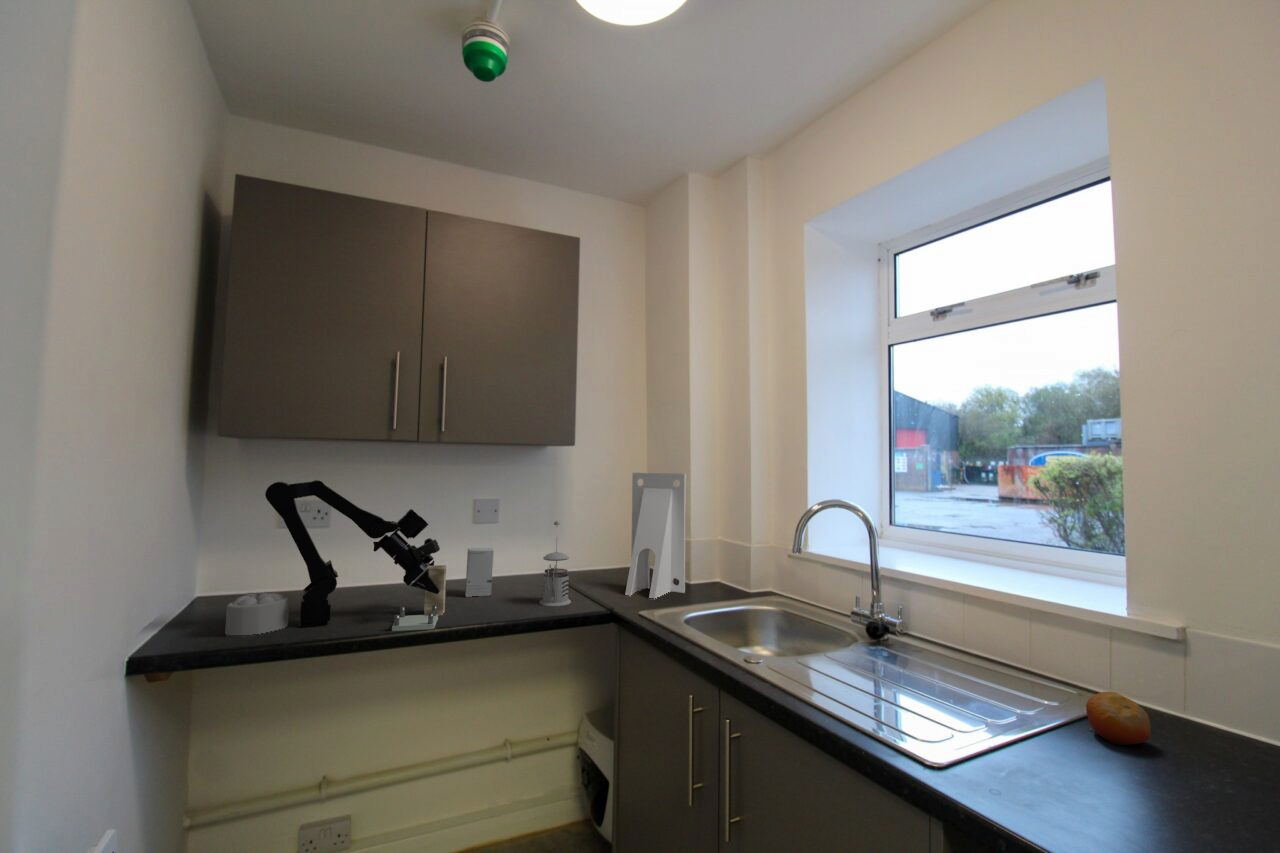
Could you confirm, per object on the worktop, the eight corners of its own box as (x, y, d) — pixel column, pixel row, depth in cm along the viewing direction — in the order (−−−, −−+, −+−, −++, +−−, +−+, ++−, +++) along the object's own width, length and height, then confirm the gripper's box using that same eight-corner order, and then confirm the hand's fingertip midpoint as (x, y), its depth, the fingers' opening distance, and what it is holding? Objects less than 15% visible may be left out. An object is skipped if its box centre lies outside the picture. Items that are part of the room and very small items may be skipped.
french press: (574, 599, 183) (575, 519, 185) (566, 608, 172) (567, 523, 173) (544, 597, 184) (545, 519, 186) (533, 606, 173) (535, 522, 174)
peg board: (392, 631, 146) (392, 616, 147) (399, 620, 156) (399, 606, 156) (433, 629, 149) (434, 614, 149) (438, 618, 158) (438, 605, 159)
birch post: (424, 616, 161) (425, 568, 162) (426, 611, 166) (428, 565, 167) (442, 615, 162) (444, 568, 163) (444, 610, 167) (446, 565, 168)
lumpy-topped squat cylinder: (292, 626, 149) (294, 592, 150) (238, 639, 138) (240, 603, 139) (270, 620, 154) (271, 588, 155) (215, 633, 143) (217, 597, 144)
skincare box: (465, 597, 183) (466, 550, 184) (465, 593, 189) (466, 547, 190) (492, 596, 186) (493, 549, 187) (491, 592, 191) (492, 546, 192)
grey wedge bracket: (612, 594, 191) (614, 472, 194) (632, 586, 204) (633, 472, 206) (667, 601, 182) (669, 474, 185) (684, 592, 195) (685, 473, 198)
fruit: (1110, 714, 99) (1130, 682, 95) (1147, 759, 92) (1170, 727, 88) (1064, 714, 99) (1082, 682, 95) (1098, 759, 92) (1119, 727, 88)
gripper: (417, 534, 156) (459, 574, 157) (427, 526, 174) (464, 562, 175) (385, 564, 153) (427, 605, 155) (398, 553, 171) (436, 590, 173)
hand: (440, 589), depth 165 cm, fingers open, 9 cm apart
